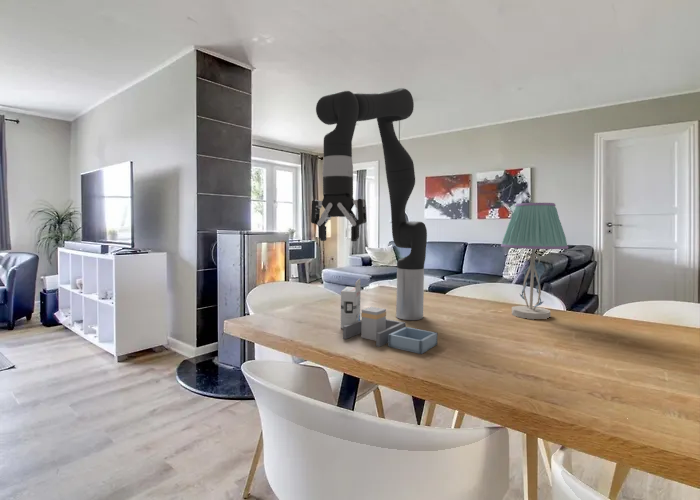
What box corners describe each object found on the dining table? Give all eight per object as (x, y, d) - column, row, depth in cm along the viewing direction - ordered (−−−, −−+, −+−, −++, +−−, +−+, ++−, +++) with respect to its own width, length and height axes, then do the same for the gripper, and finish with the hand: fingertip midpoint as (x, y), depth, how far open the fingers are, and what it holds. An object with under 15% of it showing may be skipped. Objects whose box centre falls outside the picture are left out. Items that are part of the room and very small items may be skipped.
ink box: (345, 321, 125) (346, 277, 124) (360, 322, 124) (361, 277, 123) (340, 328, 116) (340, 281, 115) (355, 329, 115) (356, 281, 114)
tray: (405, 337, 107) (405, 326, 107) (437, 344, 101) (437, 332, 101) (388, 346, 99) (388, 334, 99) (421, 354, 94) (421, 341, 93)
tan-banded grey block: (370, 333, 111) (371, 306, 111) (385, 336, 108) (386, 309, 108) (361, 337, 107) (361, 309, 107) (376, 340, 104) (376, 312, 104)
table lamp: (578, 323, 125) (584, 202, 122) (512, 322, 125) (517, 201, 122) (545, 308, 146) (550, 205, 144) (489, 308, 146) (493, 205, 144)
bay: (371, 327, 118) (371, 316, 117) (405, 334, 111) (405, 322, 110) (343, 338, 106) (343, 326, 106) (379, 346, 99) (379, 333, 99)
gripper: (369, 176, 94) (369, 240, 96) (319, 178, 100) (320, 239, 101) (359, 173, 88) (359, 242, 89) (305, 175, 93) (306, 241, 94)
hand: (338, 241), depth 95 cm, fingers open, 8 cm apart
